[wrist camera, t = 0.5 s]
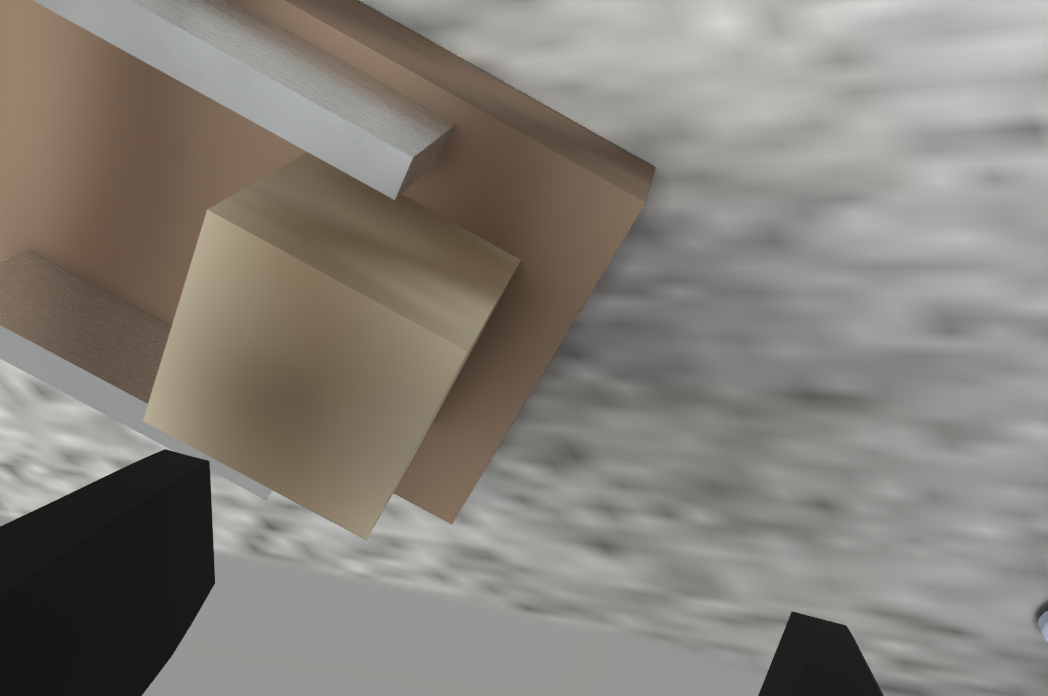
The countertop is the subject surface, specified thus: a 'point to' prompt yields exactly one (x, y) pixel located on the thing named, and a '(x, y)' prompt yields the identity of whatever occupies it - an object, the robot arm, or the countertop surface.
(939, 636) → the countertop surface
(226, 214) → the maple block
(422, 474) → the board
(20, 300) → the channel walls
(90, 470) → the countertop surface
